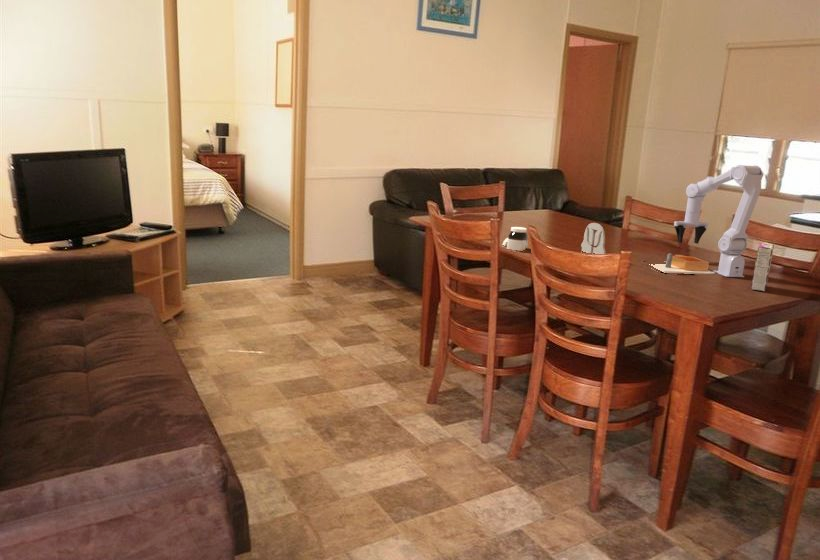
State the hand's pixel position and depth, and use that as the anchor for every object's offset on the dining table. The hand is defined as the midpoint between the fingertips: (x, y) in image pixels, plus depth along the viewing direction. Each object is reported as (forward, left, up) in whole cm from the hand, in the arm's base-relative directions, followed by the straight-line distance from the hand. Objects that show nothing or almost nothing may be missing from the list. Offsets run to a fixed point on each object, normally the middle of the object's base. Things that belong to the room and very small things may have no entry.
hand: (687, 242), depth 273 cm
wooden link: (-14, +6, -8) cm, 17 cm away
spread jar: (+11, +75, -10) cm, 76 cm away
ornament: (-3, +50, -10) cm, 51 cm away
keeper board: (-13, +11, -9) cm, 19 cm away
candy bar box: (-42, -6, -10) cm, 43 cm away
